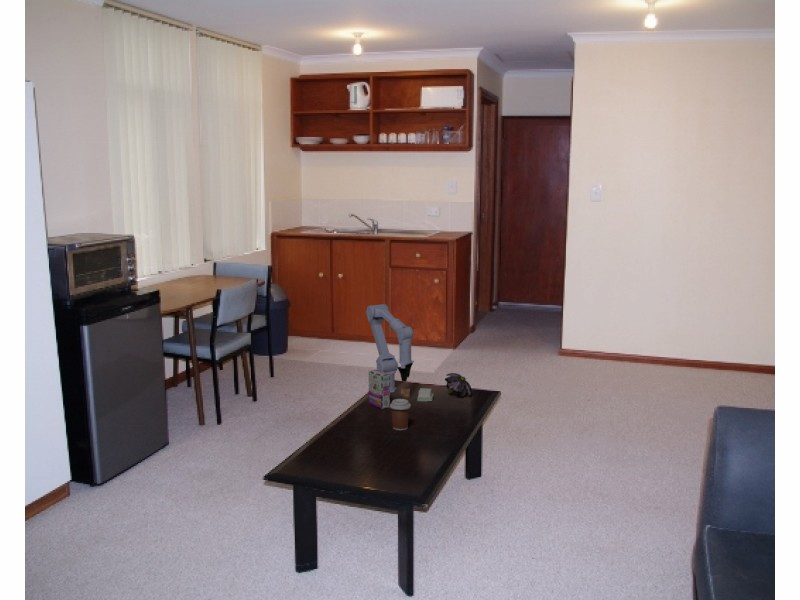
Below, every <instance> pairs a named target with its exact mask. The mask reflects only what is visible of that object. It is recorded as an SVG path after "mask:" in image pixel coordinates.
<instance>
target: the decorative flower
mask: <svg viewBox="0 0 800 600" xmlns="http://www.w3.org/2000/svg"><path fill="white" fill-rule="evenodd" d="M445 376H446V377H445V378H444V381H445V382H446V384H445V386H446V388H447V389H448V390H447V391H446V392H447V393H448V395H449V394H450V395H453V394H457V395H459V396H460V398H461V399H463V398H464V397H465V396H466V394H467V393H468V398H470V397H472V395H473V391H472V387H471V386H472V385H470V383H469V381H468V380H467V379H466V377H465V376H462V375H461V374H460V373H456V372H452V373H451V372H450V373H447V374H445Z"/></svg>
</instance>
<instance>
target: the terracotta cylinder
mask: <svg viewBox="0 0 800 600" xmlns="http://www.w3.org/2000/svg"><path fill="white" fill-rule="evenodd" d="M410 392H411V389H410V388H409V387H403V388H400V399H401V398H402V399H406V400H409V399H410V397H411V393H410Z"/></svg>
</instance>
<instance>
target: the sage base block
mask: <svg viewBox="0 0 800 600" xmlns="http://www.w3.org/2000/svg"><path fill="white" fill-rule="evenodd" d="M434 395H435V394H434V393H433V392H432V394H431V396H430V397H419V394H418V395H417V399H416V400H417V402H427V401H432V402H433V400H434V398H433V397H434Z"/></svg>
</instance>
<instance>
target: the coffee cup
mask: <svg viewBox="0 0 800 600" xmlns="http://www.w3.org/2000/svg"><path fill="white" fill-rule="evenodd" d="M411 407H412V405H411V403H410V402H409V399H401V398H395V399H393V400H392V401H391V402H390V408H389V409H390V410H391V420H392V422H391V423H392V429H393V430H395V431H405V430H407V429H408V427H409V426H408V425H409V415H410V408H411Z"/></svg>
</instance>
